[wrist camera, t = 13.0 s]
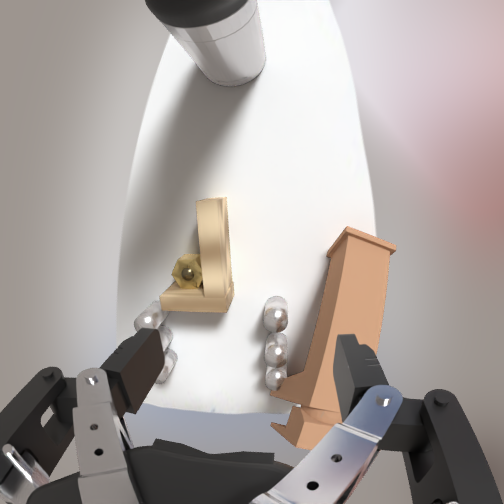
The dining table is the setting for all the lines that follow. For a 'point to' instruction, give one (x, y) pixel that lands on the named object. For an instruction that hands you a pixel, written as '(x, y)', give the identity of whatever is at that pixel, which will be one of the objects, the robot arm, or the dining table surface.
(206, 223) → the wooden l-bracket
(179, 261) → the nut
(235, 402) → the dining table surface
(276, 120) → the dining table surface
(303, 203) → the dining table surface
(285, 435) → the tan tall stepped post
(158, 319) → the spacers
